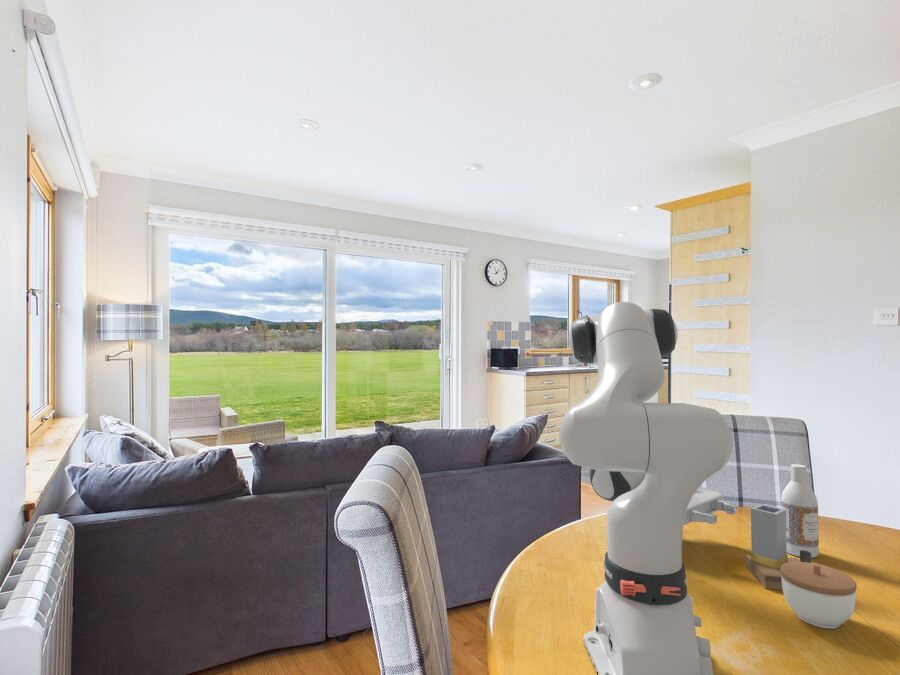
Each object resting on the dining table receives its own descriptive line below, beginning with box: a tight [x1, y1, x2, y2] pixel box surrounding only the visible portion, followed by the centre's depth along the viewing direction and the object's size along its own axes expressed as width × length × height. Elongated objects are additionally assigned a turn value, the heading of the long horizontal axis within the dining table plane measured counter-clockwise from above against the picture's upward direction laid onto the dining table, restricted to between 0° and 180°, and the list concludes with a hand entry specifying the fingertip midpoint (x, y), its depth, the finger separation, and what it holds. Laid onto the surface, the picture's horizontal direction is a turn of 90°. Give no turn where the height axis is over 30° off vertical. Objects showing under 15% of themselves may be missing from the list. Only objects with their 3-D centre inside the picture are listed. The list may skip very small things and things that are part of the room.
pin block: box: [744, 550, 812, 591], centre depth 101 cm, size 10×10×6 cm
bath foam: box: [780, 463, 820, 559], centre depth 114 cm, size 7×7×20 cm
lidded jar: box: [780, 562, 858, 630], centre depth 87 cm, size 11×11×9 cm
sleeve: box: [750, 503, 789, 569], centre depth 104 cm, size 5×5×11 cm
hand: (725, 515), depth 111 cm, fingers open, 8 cm apart
